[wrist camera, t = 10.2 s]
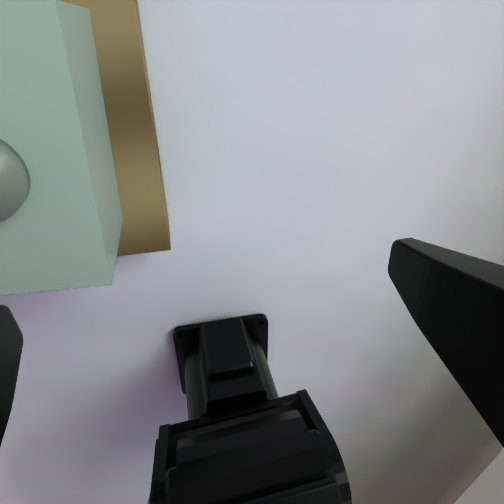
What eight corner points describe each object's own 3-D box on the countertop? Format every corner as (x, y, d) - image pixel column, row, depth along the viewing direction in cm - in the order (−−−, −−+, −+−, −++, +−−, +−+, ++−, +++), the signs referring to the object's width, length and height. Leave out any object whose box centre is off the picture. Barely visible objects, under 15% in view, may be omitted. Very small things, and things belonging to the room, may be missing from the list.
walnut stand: (168, 222, 20) (170, 249, 18) (-10, 241, 19) (-35, 274, 16) (129, -56, 14) (123, -74, 12) (-146, -65, 12) (-221, -87, 10)
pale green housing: (89, 8, 12) (49, -2, 8) (122, 220, 17) (109, 295, 12) (-102, -2, 11) (-282, -21, 7) (-14, 228, 15) (-87, 315, 11)
